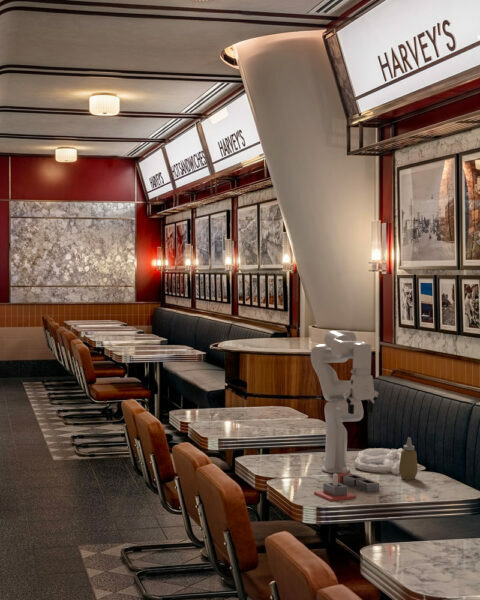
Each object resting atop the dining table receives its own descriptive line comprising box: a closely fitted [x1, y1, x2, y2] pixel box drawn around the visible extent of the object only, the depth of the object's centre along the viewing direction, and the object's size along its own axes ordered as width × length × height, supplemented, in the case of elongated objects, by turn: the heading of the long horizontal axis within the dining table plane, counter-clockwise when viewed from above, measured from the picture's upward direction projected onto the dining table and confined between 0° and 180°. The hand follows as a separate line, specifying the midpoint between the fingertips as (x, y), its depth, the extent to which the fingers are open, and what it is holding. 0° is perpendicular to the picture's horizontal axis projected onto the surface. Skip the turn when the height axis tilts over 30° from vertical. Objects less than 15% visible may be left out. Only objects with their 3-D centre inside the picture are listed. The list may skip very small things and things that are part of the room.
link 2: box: [355, 478, 380, 494], centre depth 362 cm, size 8×6×4 cm
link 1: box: [342, 473, 367, 489], centre depth 370 cm, size 8×6×4 cm
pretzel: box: [353, 447, 404, 476], centre depth 406 cm, size 28×24×6 cm
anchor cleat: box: [336, 466, 353, 484], centre depth 376 cm, size 4×7×6 cm, turn 118°
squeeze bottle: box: [399, 436, 419, 481], centre depth 384 cm, size 8×8×18 cm
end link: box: [322, 481, 348, 497], centre depth 351 cm, size 8×6×4 cm
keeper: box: [313, 473, 357, 502], centre depth 351 cm, size 12×12×9 cm
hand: (360, 413), depth 370 cm, fingers open, 9 cm apart
